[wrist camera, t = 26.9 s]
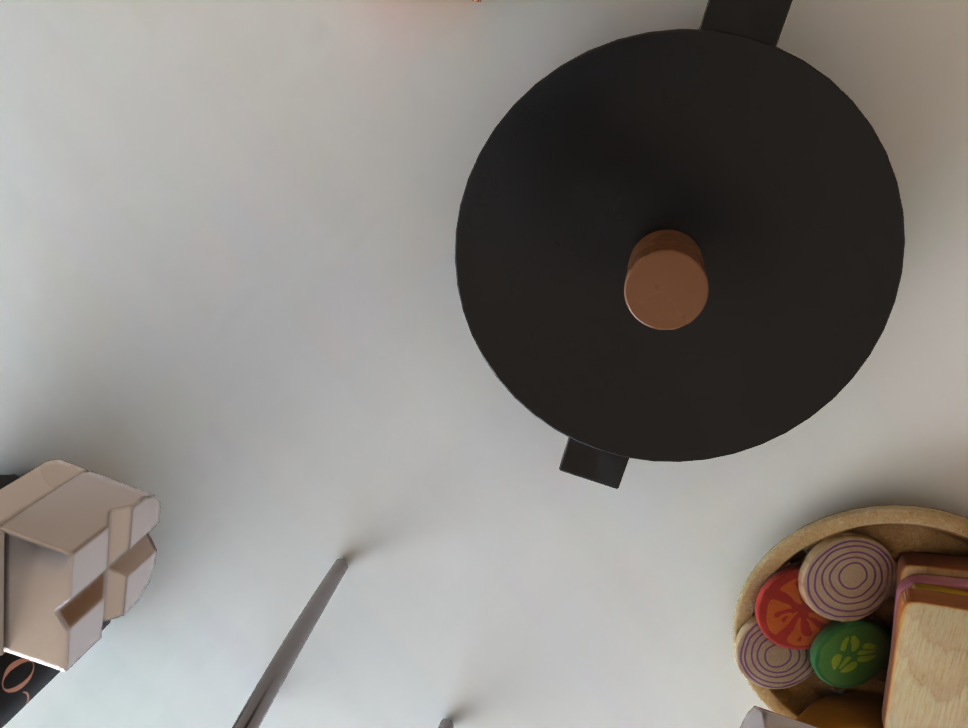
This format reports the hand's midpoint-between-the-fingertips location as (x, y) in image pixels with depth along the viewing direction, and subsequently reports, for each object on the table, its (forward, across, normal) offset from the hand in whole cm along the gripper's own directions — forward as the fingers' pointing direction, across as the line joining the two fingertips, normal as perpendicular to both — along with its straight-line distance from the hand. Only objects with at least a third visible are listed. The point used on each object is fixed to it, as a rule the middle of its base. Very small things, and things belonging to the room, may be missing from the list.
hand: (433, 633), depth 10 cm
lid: (+19, -2, -2) cm, 19 cm away
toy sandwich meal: (+23, -17, +11) cm, 31 cm away
